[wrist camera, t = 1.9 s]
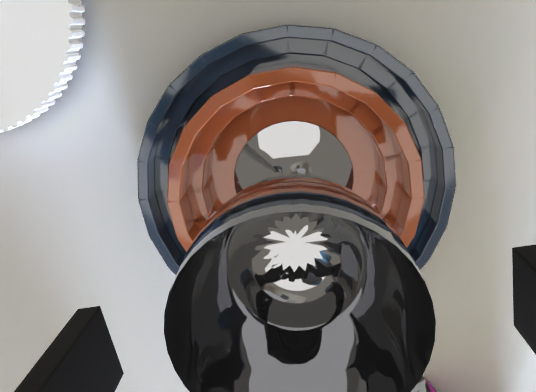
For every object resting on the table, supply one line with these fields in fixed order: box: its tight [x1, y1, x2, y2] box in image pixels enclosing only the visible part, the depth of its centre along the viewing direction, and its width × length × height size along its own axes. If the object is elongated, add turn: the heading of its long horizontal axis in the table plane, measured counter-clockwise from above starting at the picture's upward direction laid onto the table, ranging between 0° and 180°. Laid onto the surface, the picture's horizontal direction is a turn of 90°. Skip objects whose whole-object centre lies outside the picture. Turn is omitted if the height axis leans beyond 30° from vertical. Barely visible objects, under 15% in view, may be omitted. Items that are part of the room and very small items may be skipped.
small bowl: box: [167, 62, 425, 252], centre depth 26 cm, size 13×13×4 cm
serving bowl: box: [137, 25, 456, 275], centre depth 27 cm, size 17×17×3 cm
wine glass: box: [164, 120, 436, 392], centre depth 21 cm, size 8×8×15 cm
